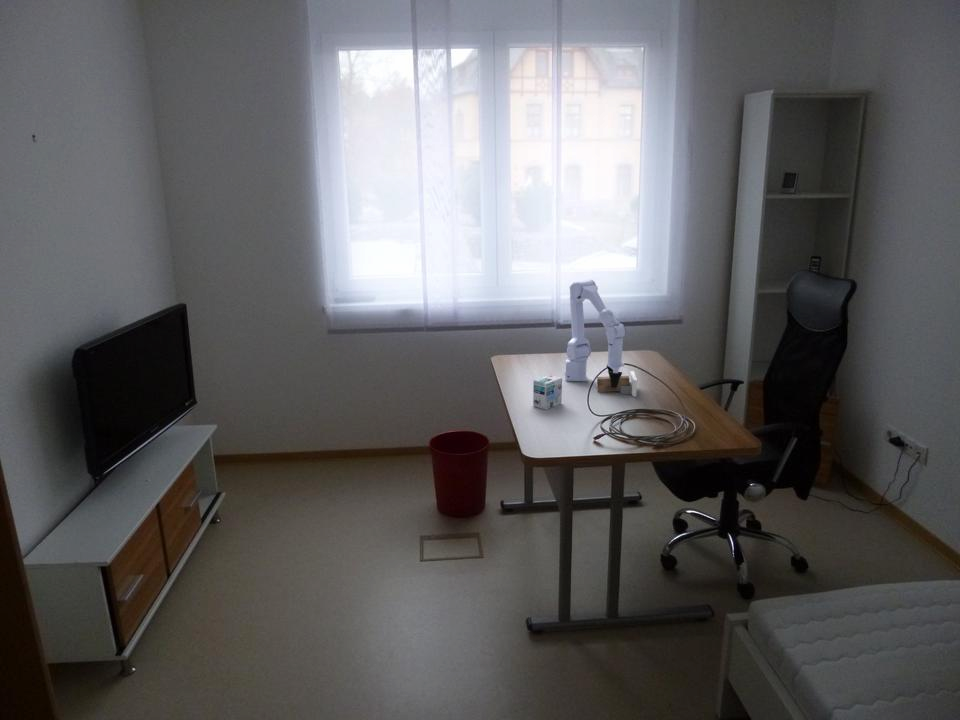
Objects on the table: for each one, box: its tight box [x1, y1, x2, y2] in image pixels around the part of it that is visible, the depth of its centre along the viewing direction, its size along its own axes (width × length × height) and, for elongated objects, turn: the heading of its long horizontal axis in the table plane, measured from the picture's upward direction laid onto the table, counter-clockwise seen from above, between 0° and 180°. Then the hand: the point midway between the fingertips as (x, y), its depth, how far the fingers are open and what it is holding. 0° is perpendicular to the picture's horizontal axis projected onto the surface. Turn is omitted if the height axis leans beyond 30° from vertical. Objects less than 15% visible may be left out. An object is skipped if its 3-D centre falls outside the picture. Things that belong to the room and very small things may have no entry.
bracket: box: [619, 370, 638, 397], centre depth 288 cm, size 6×13×7 cm, turn 174°
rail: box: [596, 375, 630, 393], centre depth 289 cm, size 13×3×6 cm, turn 84°
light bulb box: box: [532, 374, 563, 411], centre depth 272 cm, size 11×7×11 cm, turn 137°
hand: (613, 384), depth 289 cm, fingers open, 7 cm apart
